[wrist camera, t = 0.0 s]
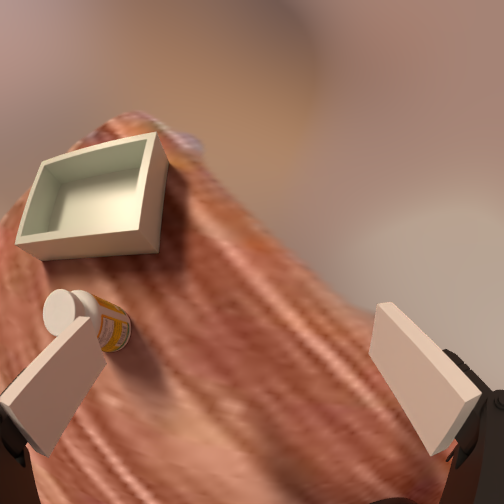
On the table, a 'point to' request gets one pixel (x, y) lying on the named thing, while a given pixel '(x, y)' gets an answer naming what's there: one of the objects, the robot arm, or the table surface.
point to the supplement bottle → (87, 305)
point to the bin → (97, 201)
